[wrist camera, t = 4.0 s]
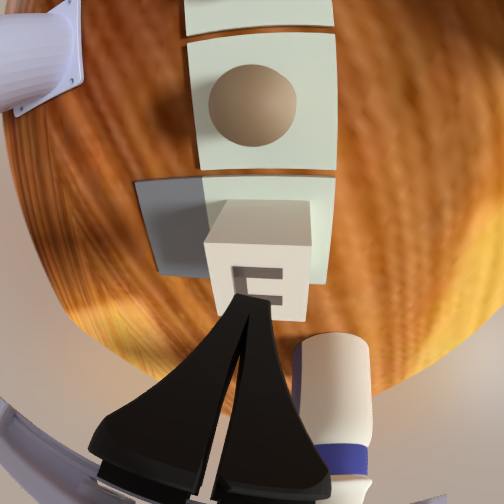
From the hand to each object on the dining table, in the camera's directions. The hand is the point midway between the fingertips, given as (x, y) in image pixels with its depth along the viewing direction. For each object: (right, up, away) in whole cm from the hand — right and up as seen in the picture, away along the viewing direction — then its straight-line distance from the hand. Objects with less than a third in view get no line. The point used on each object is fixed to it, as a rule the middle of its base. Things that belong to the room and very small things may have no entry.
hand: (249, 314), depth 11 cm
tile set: (+1, +11, +3) cm, 11 cm away
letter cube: (+1, +4, +7) cm, 8 cm away
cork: (+1, +11, +3) cm, 11 cm away
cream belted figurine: (+8, -8, +15) cm, 19 cm away
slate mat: (-5, +4, +9) cm, 11 cm away
